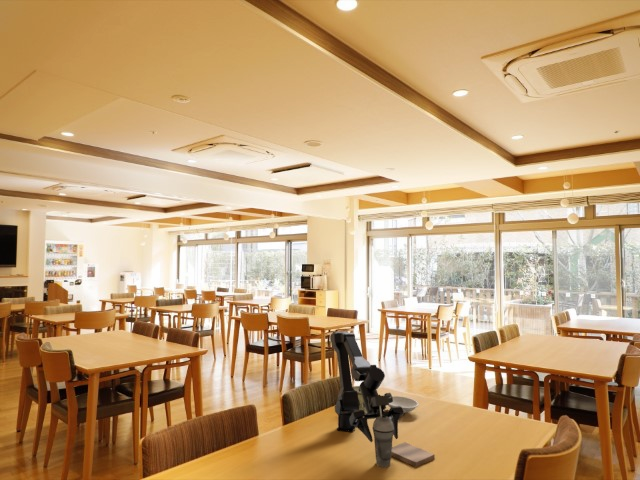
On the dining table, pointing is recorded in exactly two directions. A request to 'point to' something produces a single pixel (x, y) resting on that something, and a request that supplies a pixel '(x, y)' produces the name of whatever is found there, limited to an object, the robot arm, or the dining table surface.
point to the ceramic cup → (360, 399)
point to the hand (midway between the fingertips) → (384, 440)
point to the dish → (404, 403)
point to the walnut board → (411, 454)
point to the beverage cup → (383, 439)
